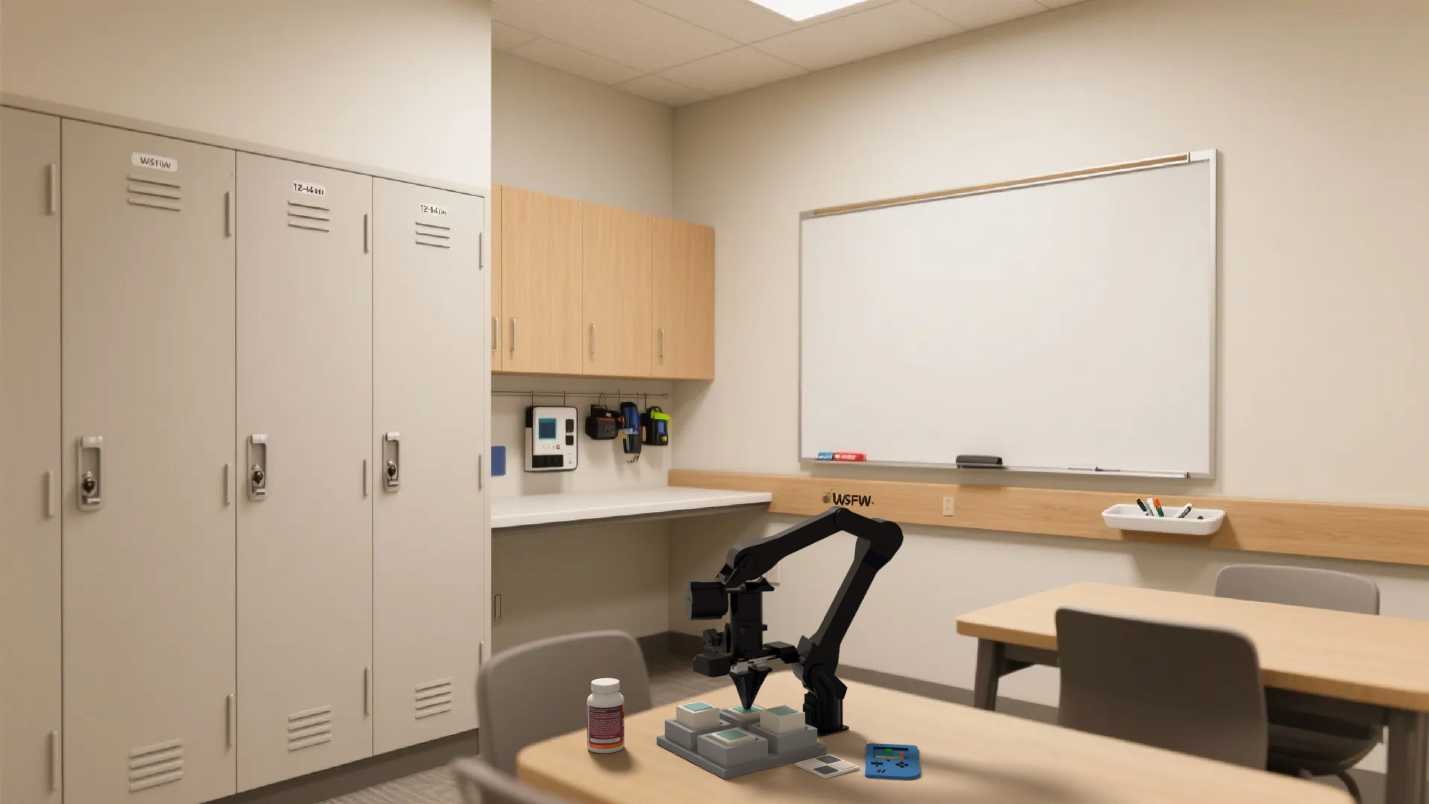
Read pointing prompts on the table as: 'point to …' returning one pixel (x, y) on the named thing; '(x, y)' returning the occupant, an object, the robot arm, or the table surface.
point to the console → (739, 746)
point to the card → (827, 766)
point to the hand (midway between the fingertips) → (746, 708)
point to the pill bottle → (605, 716)
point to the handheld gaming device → (892, 761)
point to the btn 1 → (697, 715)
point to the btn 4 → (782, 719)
